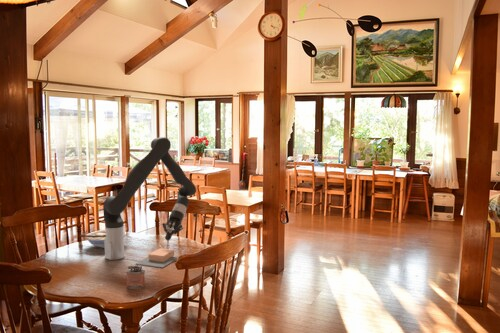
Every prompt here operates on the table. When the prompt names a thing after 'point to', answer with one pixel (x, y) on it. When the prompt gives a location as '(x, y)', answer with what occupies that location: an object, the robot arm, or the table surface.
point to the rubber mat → (156, 264)
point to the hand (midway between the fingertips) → (167, 239)
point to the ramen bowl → (97, 238)
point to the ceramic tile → (161, 255)
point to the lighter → (135, 277)
